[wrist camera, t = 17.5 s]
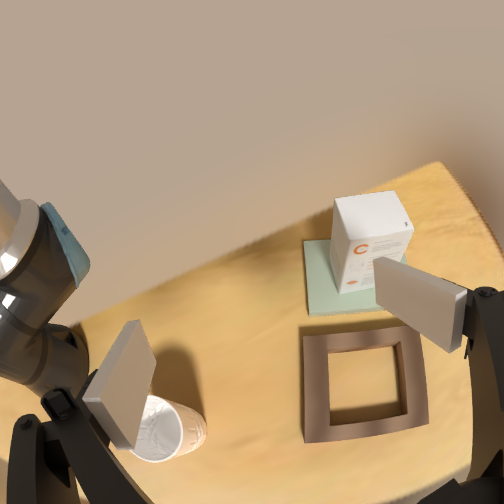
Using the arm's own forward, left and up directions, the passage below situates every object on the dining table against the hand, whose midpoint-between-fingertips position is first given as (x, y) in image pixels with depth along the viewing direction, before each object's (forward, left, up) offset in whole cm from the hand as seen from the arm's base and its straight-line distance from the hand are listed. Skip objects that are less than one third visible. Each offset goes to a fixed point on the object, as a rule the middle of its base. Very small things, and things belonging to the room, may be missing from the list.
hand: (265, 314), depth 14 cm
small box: (+11, +15, -23) cm, 29 cm away
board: (+11, +15, -24) cm, 31 cm away
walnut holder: (+10, -2, -24) cm, 26 cm away
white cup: (-14, -8, -24) cm, 29 cm away
